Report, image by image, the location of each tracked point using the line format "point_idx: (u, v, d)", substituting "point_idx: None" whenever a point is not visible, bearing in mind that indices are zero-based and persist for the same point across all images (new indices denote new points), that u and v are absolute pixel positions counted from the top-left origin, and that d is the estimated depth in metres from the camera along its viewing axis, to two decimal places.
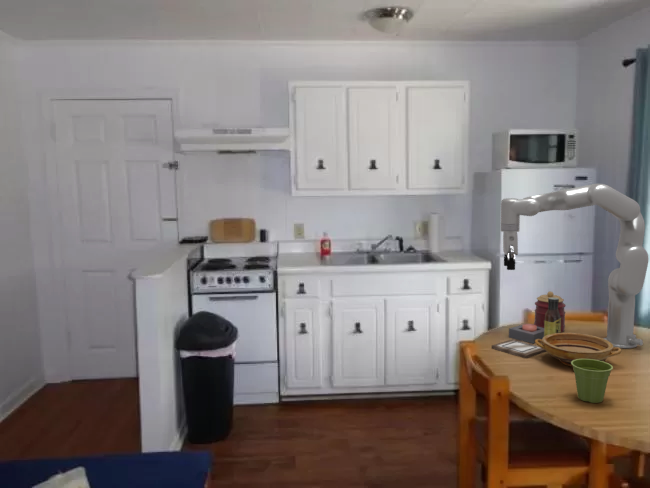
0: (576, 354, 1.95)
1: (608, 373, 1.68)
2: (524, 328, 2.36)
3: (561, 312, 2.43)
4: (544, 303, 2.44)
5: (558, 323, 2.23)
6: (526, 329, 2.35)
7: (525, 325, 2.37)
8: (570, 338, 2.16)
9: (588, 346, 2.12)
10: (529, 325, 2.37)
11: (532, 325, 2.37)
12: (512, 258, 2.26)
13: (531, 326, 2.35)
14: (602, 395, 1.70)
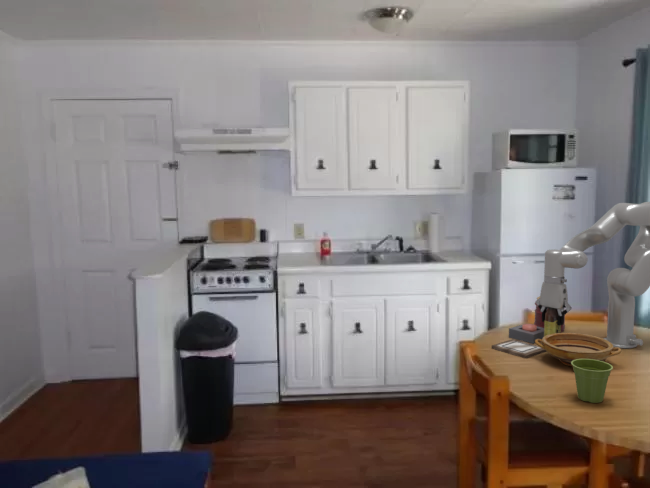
0: (576, 354, 1.95)
1: (608, 373, 1.68)
2: (524, 328, 2.36)
3: None
4: None
5: None
6: (526, 329, 2.35)
7: (525, 325, 2.37)
8: (570, 338, 2.16)
9: (588, 346, 2.12)
10: (529, 325, 2.37)
11: (532, 325, 2.37)
12: (565, 313, 2.21)
13: (531, 326, 2.35)
14: (602, 395, 1.70)
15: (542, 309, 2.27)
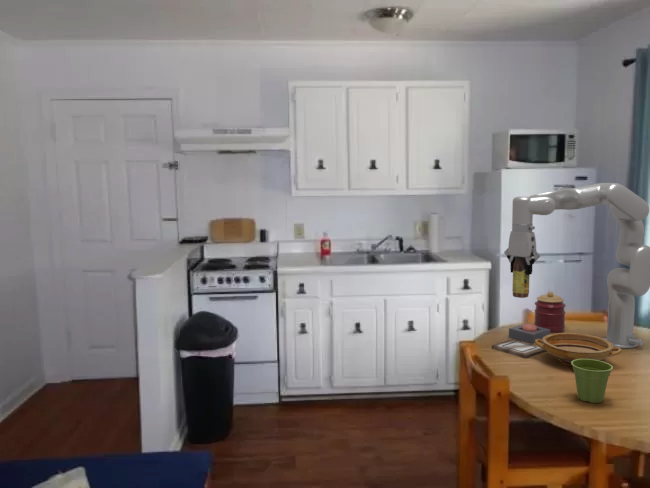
0: (576, 354, 1.95)
1: (608, 373, 1.68)
2: (524, 328, 2.36)
3: (561, 312, 2.43)
4: (544, 303, 2.44)
5: None
6: (526, 329, 2.35)
7: (525, 325, 2.37)
8: (570, 338, 2.16)
9: (588, 346, 2.12)
10: (529, 325, 2.37)
11: (532, 325, 2.37)
12: None
13: (531, 326, 2.35)
14: (602, 395, 1.70)
15: (510, 259, 2.20)
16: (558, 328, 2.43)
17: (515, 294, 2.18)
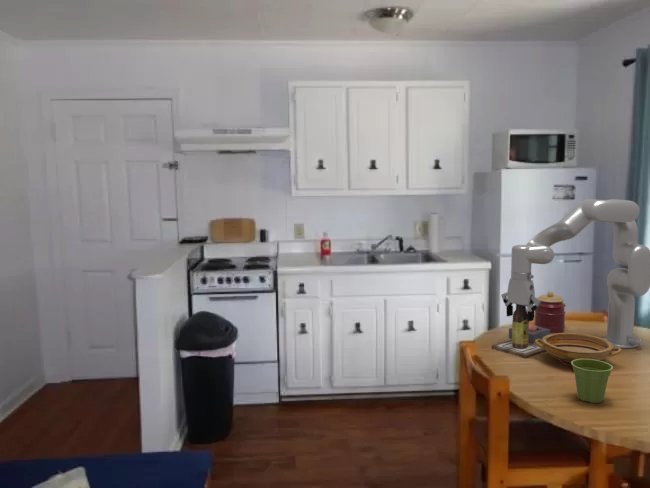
0: (576, 354, 1.95)
1: (608, 373, 1.68)
2: None
3: (561, 312, 2.43)
4: (544, 303, 2.44)
5: (526, 323, 2.18)
6: None
7: None
8: (570, 338, 2.16)
9: (588, 346, 2.12)
10: (529, 325, 2.37)
11: (532, 325, 2.37)
12: (535, 308, 2.14)
13: (531, 326, 2.35)
14: (602, 395, 1.70)
15: (507, 304, 2.23)
16: (558, 328, 2.43)
17: (514, 344, 2.20)
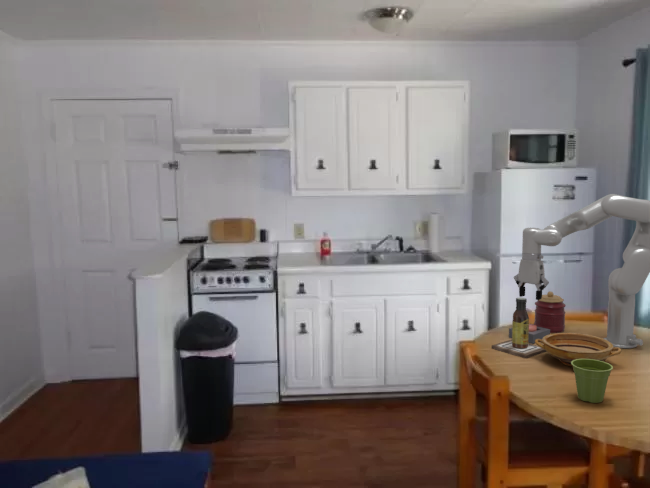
0: (576, 354, 1.95)
1: (608, 373, 1.68)
2: None
3: (561, 312, 2.43)
4: (544, 303, 2.44)
5: (526, 323, 2.18)
6: None
7: None
8: (570, 338, 2.16)
9: (588, 346, 2.12)
10: (529, 325, 2.37)
11: (532, 325, 2.37)
12: (543, 288, 2.30)
13: (531, 326, 2.35)
14: (602, 395, 1.70)
15: (519, 284, 2.37)
16: (558, 328, 2.43)
17: (514, 344, 2.20)
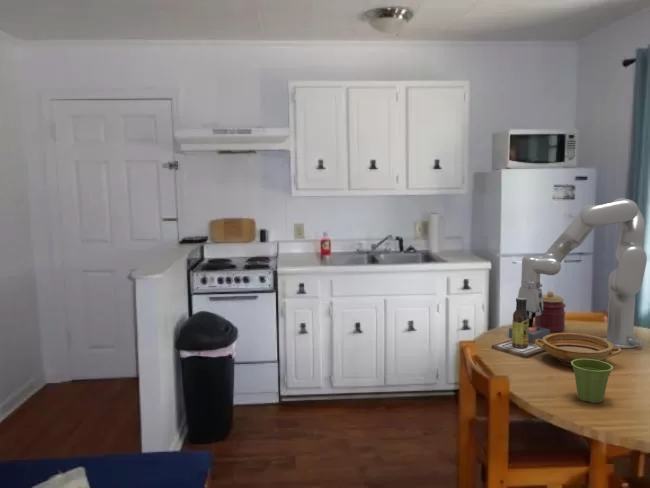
0: (576, 354, 1.95)
1: (608, 373, 1.68)
2: None
3: (561, 312, 2.43)
4: (544, 303, 2.44)
5: (526, 323, 2.18)
6: None
7: None
8: (570, 338, 2.16)
9: (588, 346, 2.12)
10: None
11: (532, 326, 2.37)
12: (534, 316, 2.34)
13: (531, 327, 2.35)
14: (602, 395, 1.70)
15: None
16: (558, 328, 2.43)
17: (514, 344, 2.20)
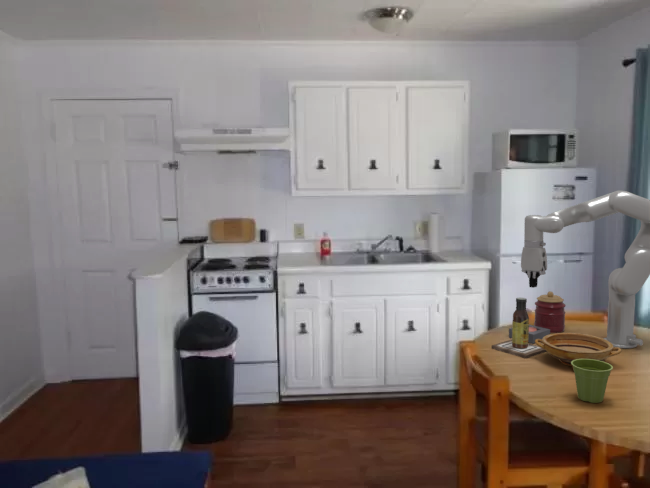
0: (576, 354, 1.95)
1: (608, 373, 1.68)
2: None
3: (561, 312, 2.43)
4: (544, 303, 2.44)
5: (526, 323, 2.18)
6: None
7: None
8: (570, 338, 2.16)
9: (588, 346, 2.12)
10: None
11: (532, 328, 2.37)
12: (539, 275, 2.32)
13: (531, 329, 2.36)
14: (602, 395, 1.70)
15: (528, 274, 2.34)
16: (558, 328, 2.43)
17: (514, 344, 2.20)
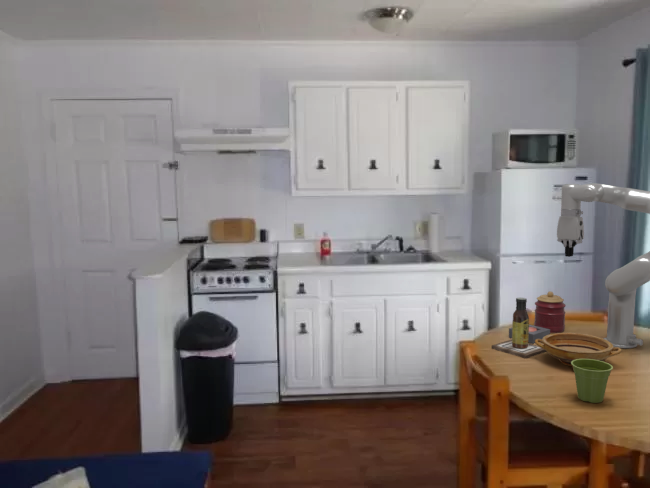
0: (576, 354, 1.95)
1: (608, 373, 1.68)
2: None
3: (561, 312, 2.43)
4: (544, 303, 2.44)
5: (526, 323, 2.18)
6: None
7: None
8: (570, 338, 2.16)
9: (588, 346, 2.12)
10: None
11: (532, 328, 2.37)
12: (575, 244, 2.33)
13: (531, 329, 2.36)
14: (602, 395, 1.70)
15: (564, 244, 2.35)
16: (558, 328, 2.43)
17: (514, 344, 2.20)
